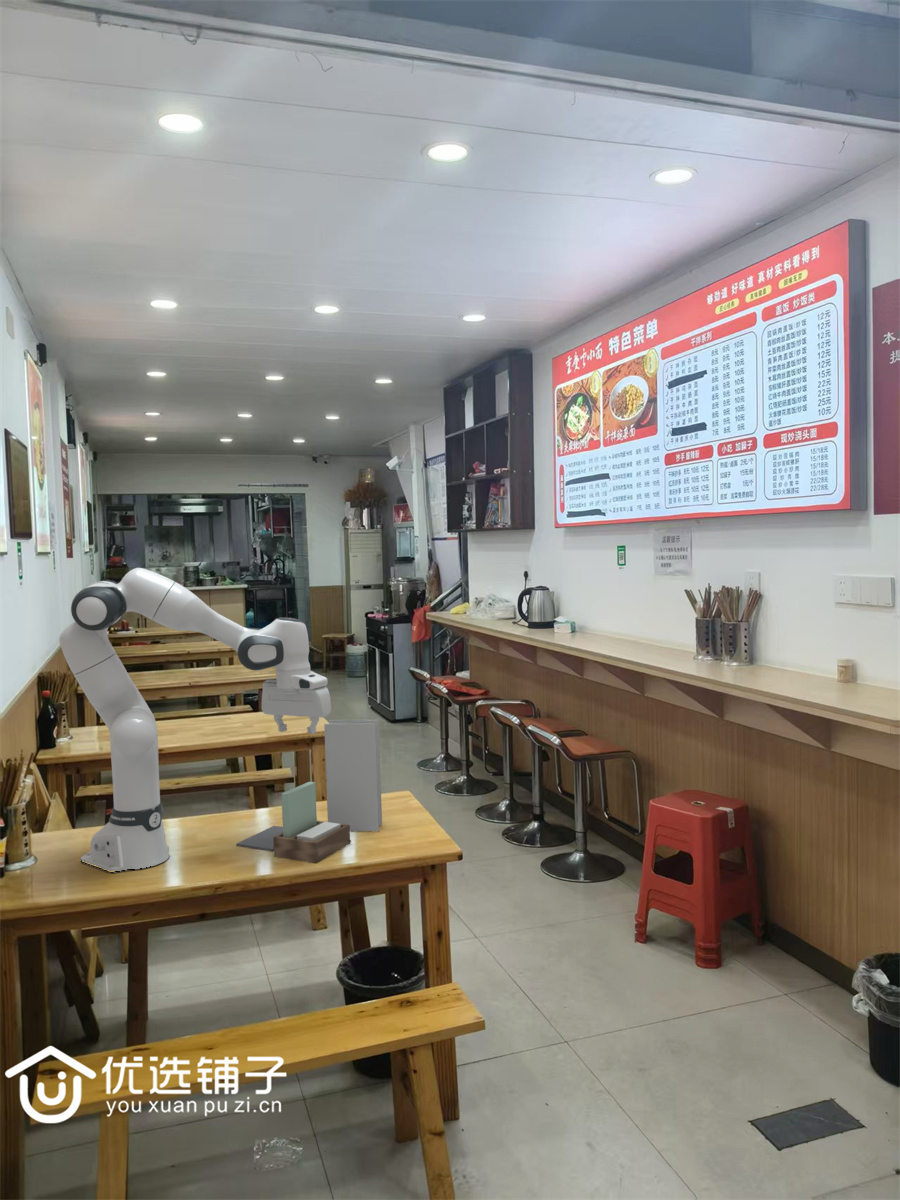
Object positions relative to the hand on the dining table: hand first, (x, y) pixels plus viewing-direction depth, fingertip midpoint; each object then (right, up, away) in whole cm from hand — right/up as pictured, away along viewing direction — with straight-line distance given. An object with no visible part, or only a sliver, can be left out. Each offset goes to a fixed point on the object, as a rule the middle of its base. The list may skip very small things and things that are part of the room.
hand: (297, 732), depth 222 cm
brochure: (+13, -30, +17) cm, 36 cm away
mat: (-8, -30, +9) cm, 33 cm away
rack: (+4, -31, 0) cm, 31 cm away
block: (+1, -31, +2) cm, 31 cm away
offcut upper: (+6, -28, -1) cm, 29 cm away
